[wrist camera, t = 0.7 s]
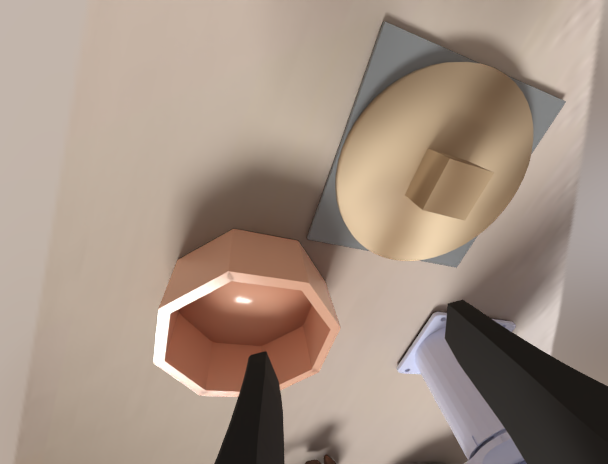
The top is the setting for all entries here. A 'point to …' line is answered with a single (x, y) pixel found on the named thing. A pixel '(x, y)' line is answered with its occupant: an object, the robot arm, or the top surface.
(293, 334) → the bowl
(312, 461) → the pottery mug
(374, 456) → the top surface
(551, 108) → the mat
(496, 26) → the top surface
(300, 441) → the top surface
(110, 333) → the top surface
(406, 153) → the lid
